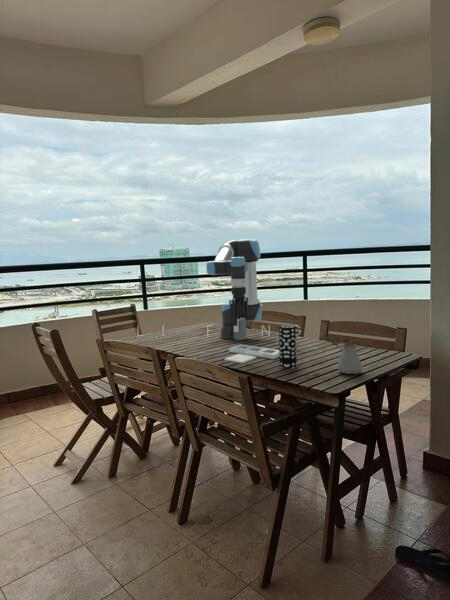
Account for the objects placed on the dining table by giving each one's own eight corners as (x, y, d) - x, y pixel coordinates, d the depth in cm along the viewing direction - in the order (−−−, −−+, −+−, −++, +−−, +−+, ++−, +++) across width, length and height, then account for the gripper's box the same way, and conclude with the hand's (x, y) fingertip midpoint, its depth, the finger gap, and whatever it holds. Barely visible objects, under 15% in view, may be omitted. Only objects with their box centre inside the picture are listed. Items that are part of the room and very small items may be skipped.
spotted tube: (286, 369, 200) (285, 328, 197) (276, 365, 207) (275, 326, 205) (300, 367, 204) (299, 326, 201) (289, 363, 211) (289, 324, 208)
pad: (238, 355, 230) (238, 353, 230) (256, 358, 222) (256, 356, 222) (224, 360, 221) (224, 358, 221) (242, 363, 213) (242, 361, 213)
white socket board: (229, 351, 238) (229, 347, 238) (240, 348, 246) (239, 344, 245) (273, 359, 219) (273, 354, 219) (283, 355, 227) (283, 350, 226)
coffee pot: (368, 373, 190) (368, 341, 188) (350, 378, 184) (351, 344, 182) (332, 363, 208) (332, 333, 206) (315, 367, 202) (315, 337, 200)
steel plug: (239, 337, 223) (238, 319, 222) (246, 338, 220) (245, 319, 219) (233, 339, 220) (233, 320, 219) (240, 339, 217) (240, 320, 216)
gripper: (233, 288, 208) (234, 334, 211) (254, 285, 221) (255, 328, 224) (222, 287, 213) (223, 333, 215) (243, 285, 226) (244, 327, 229)
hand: (239, 330), depth 220 cm, fingers closed on steel plug, 5 cm apart
